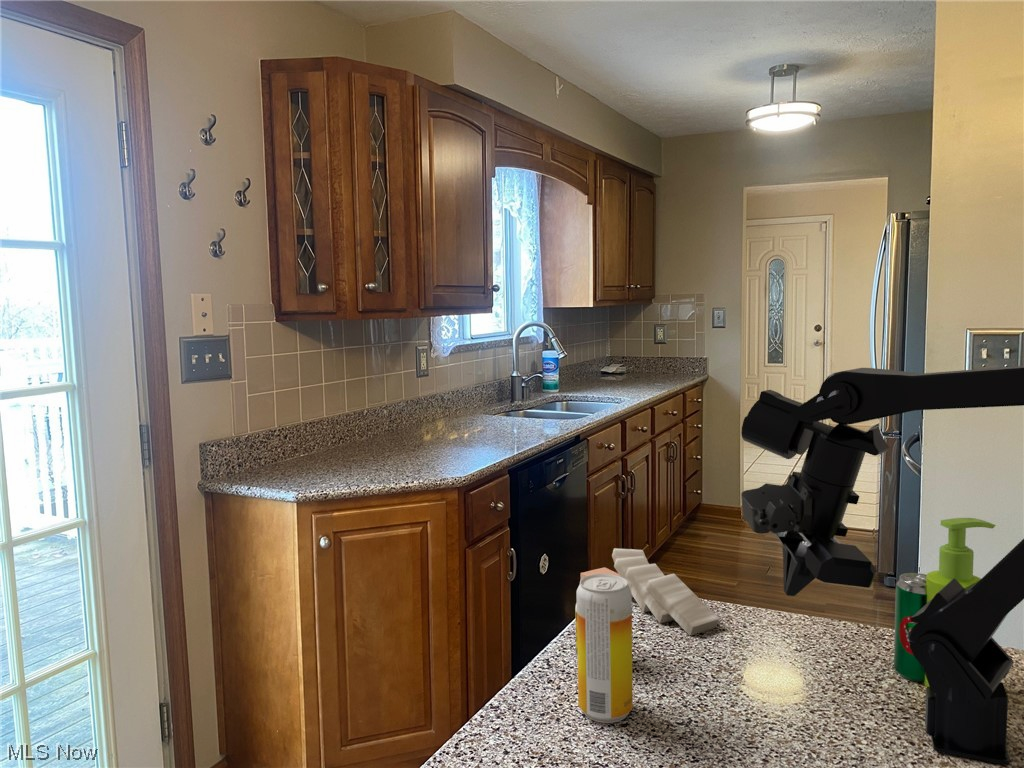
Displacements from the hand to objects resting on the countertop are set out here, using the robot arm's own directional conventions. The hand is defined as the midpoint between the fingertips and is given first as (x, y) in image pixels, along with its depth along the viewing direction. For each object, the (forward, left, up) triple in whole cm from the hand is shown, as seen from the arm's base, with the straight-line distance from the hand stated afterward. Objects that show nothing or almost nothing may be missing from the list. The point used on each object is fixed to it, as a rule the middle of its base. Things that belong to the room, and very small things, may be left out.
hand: (788, 594), depth 89 cm
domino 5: (+12, -10, -10) cm, 19 cm away
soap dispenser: (-18, -6, -11) cm, 22 cm away
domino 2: (+22, -18, -10) cm, 30 cm away
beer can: (+18, +15, -11) cm, 26 cm away
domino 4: (+16, -12, -10) cm, 23 cm away
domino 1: (+25, -19, -10) cm, 33 cm away
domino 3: (+19, -15, -10) cm, 26 cm away
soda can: (-14, -7, -11) cm, 19 cm away
